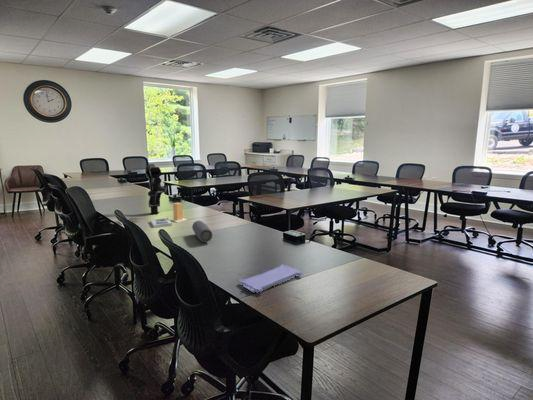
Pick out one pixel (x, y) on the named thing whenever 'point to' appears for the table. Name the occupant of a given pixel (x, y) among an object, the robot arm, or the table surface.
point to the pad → (178, 220)
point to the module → (177, 211)
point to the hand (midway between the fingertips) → (156, 202)
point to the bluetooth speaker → (202, 231)
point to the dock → (160, 222)
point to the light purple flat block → (269, 277)
